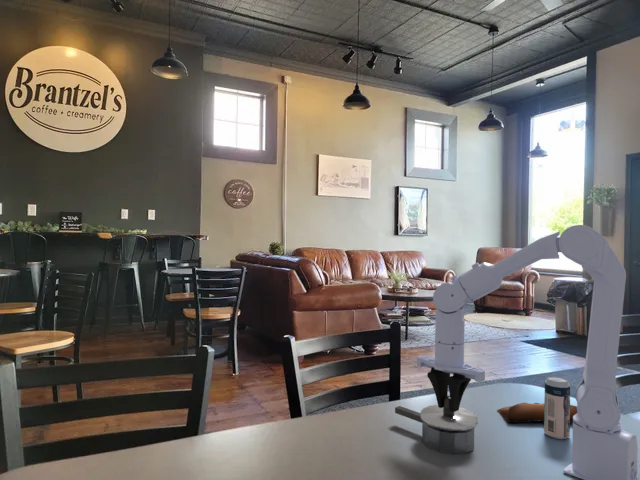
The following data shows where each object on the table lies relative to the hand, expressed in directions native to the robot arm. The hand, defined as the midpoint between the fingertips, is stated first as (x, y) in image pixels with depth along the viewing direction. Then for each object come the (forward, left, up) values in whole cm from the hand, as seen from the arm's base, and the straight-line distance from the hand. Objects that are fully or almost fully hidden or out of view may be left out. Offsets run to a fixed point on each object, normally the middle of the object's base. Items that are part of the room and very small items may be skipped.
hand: (448, 408), depth 92 cm
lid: (0, 0, -2) cm, 2 cm away
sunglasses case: (-6, -29, -8) cm, 30 cm away
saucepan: (+4, 0, -7) cm, 8 cm away
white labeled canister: (-13, -21, -7) cm, 26 cm away
